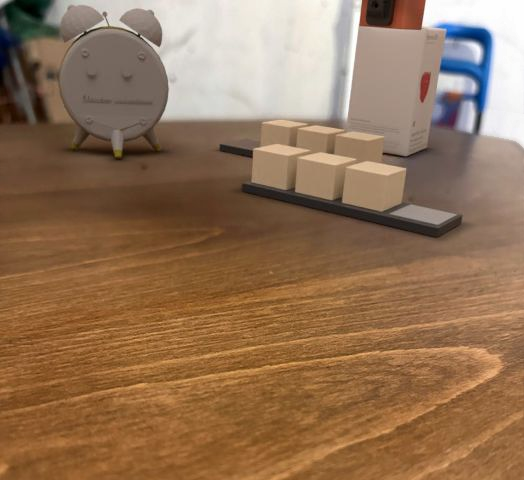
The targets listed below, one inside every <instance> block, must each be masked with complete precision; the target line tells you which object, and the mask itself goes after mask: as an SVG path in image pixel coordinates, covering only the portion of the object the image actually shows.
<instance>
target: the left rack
mask: <svg viewBox="0 0 524 480" xmlns="http://www.w3.org/2000/svg"><path fill="white" fill-rule="evenodd" d="M384 139H385V137H384V136H378V135H372V134H366V133H360V132H354V131H353V132H348V133H346V129H341V128H336V127H330V126H329V127H328V126H322V125H318V124H315V125H310V126H309V124H308V123H307V122H306V123H305V122H301V121H300V122H299V121H292V120H288V119H287V120H286V119H274V120H268V121H262V122H261V130H260V140H255V139H250V138H244V139H240V140H234V141H228V142H223V143H222V142H221V143H219V151H220V152H226V153H229V154H233V155H234V154H235V155H240V156H244V157H248V158H249V157H250V158H253V149H254V148H259V147H264V146H269V145H274V144H280V145H285V146H291V147H296V148H301V149H306V150H311V154H315V153H319V152H322V153H327V154H333V155H338V156H343V157H349V158H354V159H357V162H356V164H359V163H362V162H366V161H370V162H375V163H380V164H382V161H383V154H384V153H383V146H384Z"/></svg>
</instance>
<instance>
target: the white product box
mask: <svg viewBox="0 0 524 480" xmlns="http://www.w3.org/2000/svg"><path fill="white" fill-rule="evenodd" d="M446 36H447V29H446V28H440V27H431V26H424V25H422V29H421V30H407V29H391V28H378V27H365V26H359V25H358V27H357V36H356V43H355V51H354V62H353V69H352V77H351V86H350V92H349V101H348V102H349V103H348V111H347V119H346V127H345V133H348V132H353V131H354V132H360V133H366V134H372V135H378V136H384V137H385V139H384V146H383V153H382V154H389V155H394V156H400V157H408V156H410V155H413V154H415V153H417V152H420V151H422V150H425V149H427V147H428V142H429V135H430V131H431V130H430V129H431V124H432V118H433V113H434V106H435V102H436V101H435V100H436V95H437V88H438V82H439V76H440V70H441V65H442V59H443V58H442V57H443V52H444V48H445V42H446Z"/></svg>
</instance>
